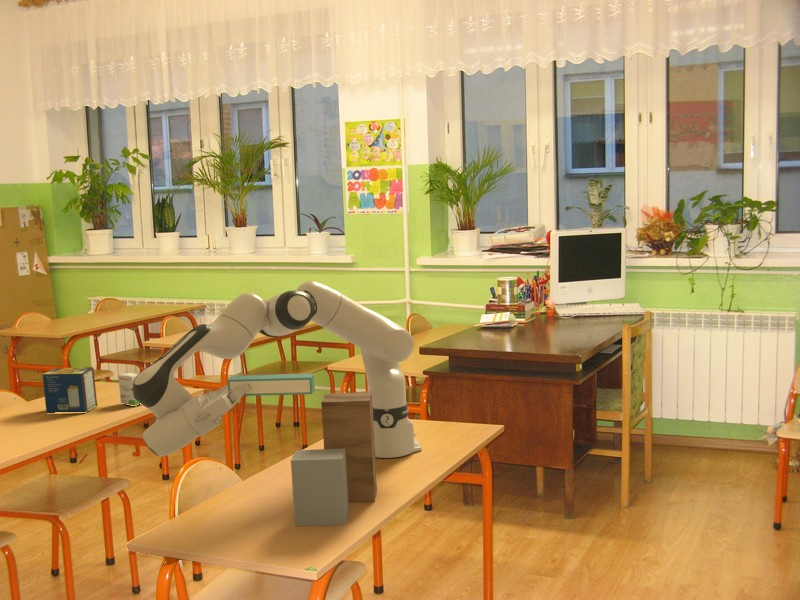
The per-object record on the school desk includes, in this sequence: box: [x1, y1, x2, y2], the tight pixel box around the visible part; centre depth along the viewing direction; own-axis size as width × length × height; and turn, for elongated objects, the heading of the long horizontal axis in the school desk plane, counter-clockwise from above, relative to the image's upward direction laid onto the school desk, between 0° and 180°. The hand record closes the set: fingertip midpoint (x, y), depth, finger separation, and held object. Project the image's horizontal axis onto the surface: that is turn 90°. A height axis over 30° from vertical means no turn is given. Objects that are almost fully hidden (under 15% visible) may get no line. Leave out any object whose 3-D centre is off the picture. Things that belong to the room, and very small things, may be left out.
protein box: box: [42, 366, 98, 413], centre depth 331 cm, size 10×15×16 cm
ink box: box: [117, 372, 140, 405], centre depth 337 cm, size 9×5×12 cm, turn 54°
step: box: [290, 448, 350, 527], centre depth 211 cm, size 8×12×16 cm, turn 88°
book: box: [227, 373, 316, 397], centre depth 213 cm, size 5×20×4 cm, turn 88°
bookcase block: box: [320, 391, 378, 504], centre depth 225 cm, size 9×12×26 cm
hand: (251, 383), depth 213 cm, fingers closed on book, 5 cm apart
